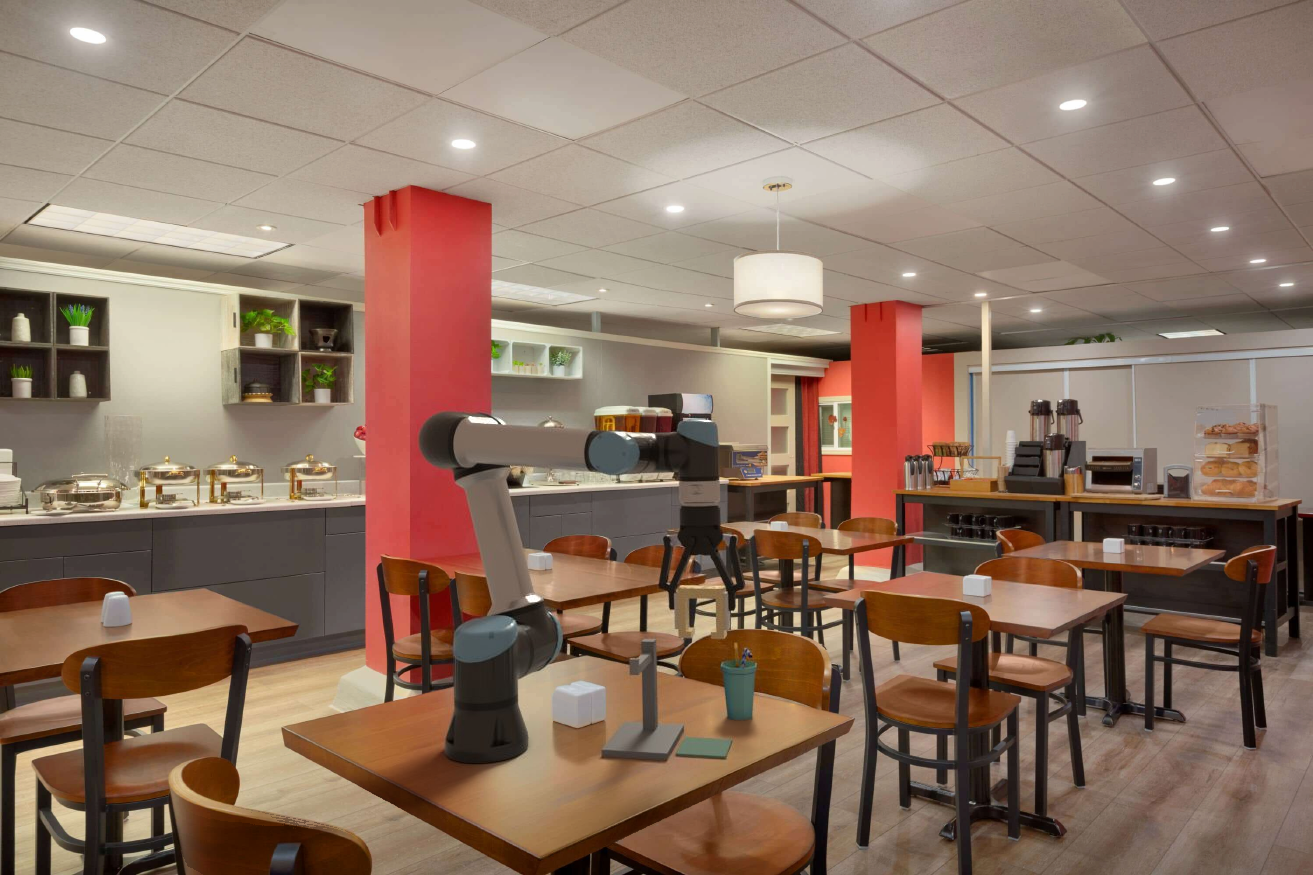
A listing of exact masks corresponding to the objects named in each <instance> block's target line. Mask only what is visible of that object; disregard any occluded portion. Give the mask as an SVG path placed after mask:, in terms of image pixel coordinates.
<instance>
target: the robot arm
mask: <svg viewBox="0 0 1313 875" xmlns="http://www.w3.org/2000/svg"><path fill="white" fill-rule="evenodd" d="M417 437H418V438H417V439H418V441H417V442H418V447H419V448H418V449H419V451H420V454H421V455H422V456H423V458H424V460H426V461H427V462H428V464H430V465H432V466H433V467H436V468H438V469H441V470H451V471H452V476H453V480H454V483H455V485H457V486H458V487H460V488H462V489H463V490H464V492H465V496H466V501H467V505H468V509H469V512H470V516H471V520H472V524H473V529H474V533H475V537H476V542H477V546H478V549H479V550H478V551H479V555H480V558H481V562H482V563H481V564H482V566H483V571H484V574H485V578H486V584H487V587H488V590H489V591H488V592H489V595H490V599H491V606H490V609H489V611H488V612H487V615H485V616H482V617H476V618H472V619H470V620H468V621H465V622H463V623H462V624H460V625H459V626H458V627H456V629H455V631H454V634H453V643H452V644H453V645H452V655H453V701H454V702H453V705H454V706H453V707H454V708H453V712H452V716H451V719H450V722H449V725H448V729H447V732H446V736H445V739H444V756H446V757H447V758H448V759H450V760H452V761H455V762H459V763H467V764H486V763H488V764H489V763H495V762H500V761H501V762H502V761H505V760H508V759H512V758H515V757H517V756H520V755H521V754H523V753H525V752H526V751H528V750H527V749H528V748H529V734H528V728H527V726H526V723H525V721H524V717H523V714H522V711H521V709H520V706H519V680H520V679H522V678H524V677H527V676H529V675H530V674H533V673H535V672H540V671H542V670H543V669H544V668H546V667H547V666H548V665H550V664H551V663H553V661H555V659H556V658H557V657H558V655H559V653H560V651H561V649H562V646H563V645H562V644H563V638H564V637H563V629H562V626H561V623H560V621H559V620H558V617H556V616H555V615H553V614H552V613H551V611H549V610H547V607H546V602H545V600H544V598H543V597H542V596H540V595H539V594H537V593H536V592H535V590H534V587H533V583H532V580H531V575H530V570H529V567H528V562H527V557H526V554H525V550H524V547H523V543H522V539H521V534H520V530H519V526H518V522H517V518H516V514H515V510H514V506H513V502H512V499H511V494H510V490H509V486H508V482H507V479H508V476H509V475H510V473H511V471H512V467H523V468H525V467H526V468H539V469H548V470H549V469H551V470H562V471H573V472H574V471H576V472H578V471H579V472H586V473H587V472H588V473H589V472H590V473H597V474H598V473H599V474H604V475H607V476H622V475H633V474H634V475H635V474H638V475H639V474H640V475H641V474H656V473H657V474H659V473H678V497H679V499H678V500H679V503H681V504H682V505H681V506H680V507H679V530H678V532H677V534H676V533H675V534H666V535H665V536H663V538H662V541H663V546H664V550H663V556H662V562H661V568H660V572H659V573H660V574H659V578H658V580H659V581H658V586H657V587H658V588H659V589H660V590H664V591H666V592H667V594H668V608H669V610H670V611H674V612H673V613H674V629H675V630H678V595H677V588H678V587H679V585H680V583H681V579H682V577H683V575H684V572H685V571H686V568H687V566H688V563H689V561H690V560H691V557H692V556H693V557H694V556H695V557H697V556H699V555H700V556H706V557H707V556H708V557H709V556H710V559H711V560H712V562H713V563H714V566H715V569H716V570H717V572H718V574H719V577H720V578H721V579H720V580H722V583H723V586H725V587H726V592H725V593H724V630H727V631H729V630H730V629H731V612H734V611H735V610H736V608H737V602H736V594H737V592H738V591H742V590H743V589H745V587H746V580H745V577H744V572H743V568H742V563H741V559H740V558H741V557H740V554H739V549H738V544H739V543H738V542H739V535H738V534H727V533H724V532H723V530H722V526H721V524H722V523H721V521H722V520H721V519H722V518H721V516H722V515H721V507H720V505H718V503H720V502H721V481H720V446H721V445H720V443H719V441H720V440H719V431H718V425H717V423H716V422H715V421H713V420H703V419H701V420H700V419H699V420H683V421H679V422H678V424H677V429H676V431H672V432H634V431H633V432H631V431H630V432H628V431H622V430H600V429H599V430H598V429H596V430H595V429H586V428H582V429H581V428H568V427H553V426H536V425H535V426H534V425H533V426H532V425H520V424H507V423H506V422H505V421H504V420H503V419H501V418H500V417H498V416H496V415H493V414H489V413H486V412H466V411H464V412H463V411H454V410H447V411H445V410H444V411H440V412H437V413H434V414H433V415H432V416H431V415H430V417H428V418H427V420H425V422H423V424H422V425H421V428H420V430H419V432H418V436H417ZM511 466H512V467H511ZM677 541H679V543H680V544H681V545H682V547H683V548H684V550H683V552H682V554H681V558H680V560H679V562H678V564H677V567H676V569H675V571H674V573H673V577H672V579H671V580H670V582H669V577H670V571H671V567H672V559H673V553H674V547H675V546H677ZM722 541H724V542H725V545H726V547H728V550H729V556H730V559H731V566H732V569H733V575H734V580H735V583H734V581H733V580H732V577H731V575H730V573H729V571H728V569H727V567H726V565H725V563H724V561H723V559H722V556H721V554H720V551H719V549H718V547H719V545H720V544H721V543H722Z"/></svg>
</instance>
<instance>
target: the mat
mask: <svg viewBox="0 0 1313 875" xmlns="http://www.w3.org/2000/svg"><path fill="white" fill-rule="evenodd" d="M732 743H733V739H732V738H730V739H729V738H717V737H716V738H712V737H695V736H684V738H683V740H682V741H681V743H680V745H679V747H678V749H677V750H676V752H675V756H676V757H694V758H709V759H727V756H728V753H729V751H730V749H731V745H732Z"/></svg>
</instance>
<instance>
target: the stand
mask: <svg viewBox="0 0 1313 875" xmlns="http://www.w3.org/2000/svg"><path fill="white" fill-rule="evenodd" d="M640 642H641V649H640V650H641V654H640V655H639V656H638V657H637V658H635V657H630V658H629V660H628V661H629V663H628V664H629V675H630V676H639V675H641V686H642V687H641V688H642V690H641V691H642V693H641V695H642V696H641V698H642V702H641V703H642V721H641V722H639V721H623V723H621V725H620V726H619V727H618V729H617V730H616V731H615V732H614V734H613V735H612V736H611V737H610V738H609V739H608V740H607V742H606V743H605V745H603V747H602V748H601V751H600V752H601V757H607V758H621V759H622V758H624V759H641V760H653V761H656V760H657V761H668V760H669V758H670V756H671V755H672V753H673V751H674V750H675V748H676V746H677V744H678V742H679V741H680V738H681V737H682V735H683V733H684V732H685V725H684V724H682V723H681V724H678V723H676V724H675V723H662V722H661V723H659V721H658V720H659V717H658V716H659V715H658V713H659V712H658V710H659V709H658V670H657V669H658V660H657V638H644V639H642V640H641V641H640Z"/></svg>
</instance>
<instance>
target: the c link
mask: <svg viewBox="0 0 1313 875" xmlns="http://www.w3.org/2000/svg"><path fill="white" fill-rule="evenodd" d="M676 591H677V595H678V629H677V630H678V631H677V632H678V633H677V634H678V636H677V637H678V639H693V637H694V636H695V635H696V633H695V632H696V631H695V630H696V629H695V627H691V626H690V599H703V600H704V599H705V600H706V599H707V600H708V599H710V600H712V599H715V627H713V629H712V630H711V631H710V639H712V640H725V638H726V637H727V635H728V630H724V593H725V592H727V589H726V587H725V585H701V584H700V585H698V584H697V585H695V584H692V585H684V584H683V585H682V584H681V585H680V586H678V587H677V589H676Z"/></svg>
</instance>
